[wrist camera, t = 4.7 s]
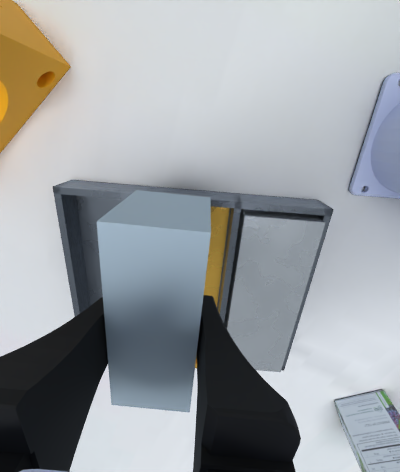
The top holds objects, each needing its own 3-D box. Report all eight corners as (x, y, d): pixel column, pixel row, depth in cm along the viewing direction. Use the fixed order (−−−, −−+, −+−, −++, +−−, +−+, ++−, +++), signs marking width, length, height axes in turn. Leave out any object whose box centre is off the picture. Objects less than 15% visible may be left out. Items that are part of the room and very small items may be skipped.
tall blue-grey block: (210, 197, 13) (210, 232, 8) (195, 336, 17) (189, 412, 12) (136, 190, 13) (96, 221, 8) (138, 331, 17) (111, 404, 12)
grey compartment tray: (318, 199, 19) (339, 213, 16) (276, 348, 26) (286, 378, 23) (71, 180, 20) (45, 189, 16) (92, 333, 26) (77, 361, 23)
